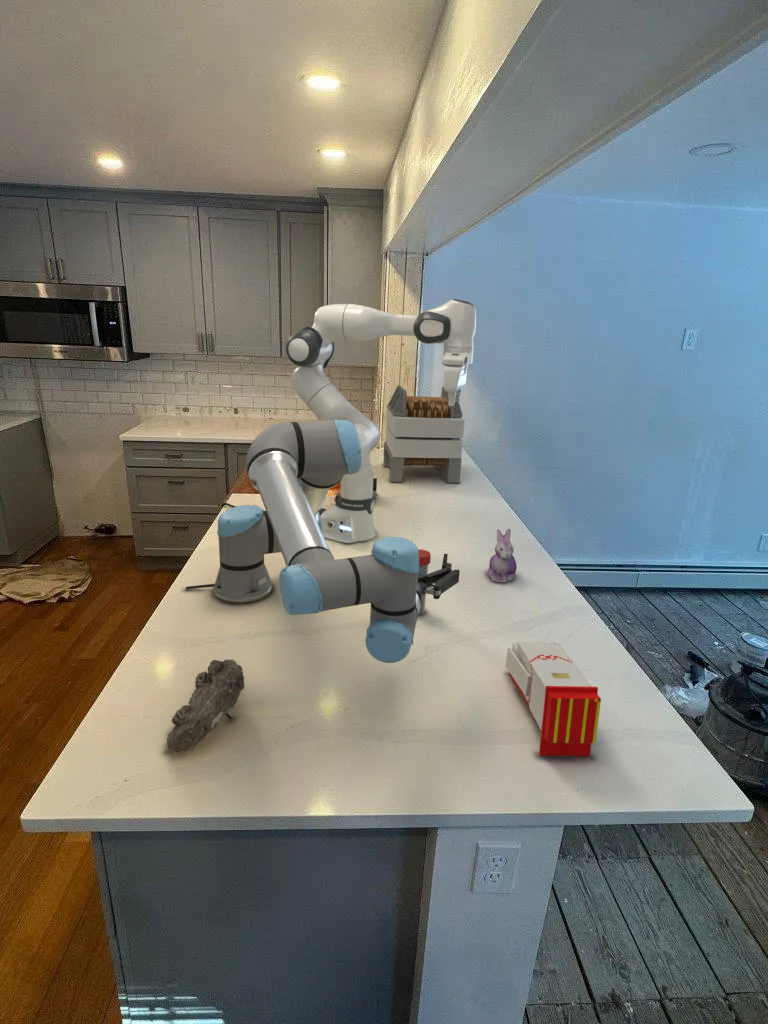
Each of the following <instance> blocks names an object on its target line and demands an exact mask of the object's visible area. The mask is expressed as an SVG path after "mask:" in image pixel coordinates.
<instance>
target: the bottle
mask: <svg viewBox="0 0 768 1024" xmlns="http://www.w3.org/2000/svg"><path fill="white" fill-rule="evenodd" d="M420 574H425V575H426V574H429V564H428V565H426V566H419V574H418V575H420ZM426 600H427V594H426V595H424V596H423V598H422V602H421V606H420V610H419V614H418V617H419V616H423V615H424V614H425V612H426Z"/></svg>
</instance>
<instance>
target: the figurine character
mask: <svg viewBox="0 0 768 1024" xmlns="http://www.w3.org/2000/svg"><path fill="white" fill-rule="evenodd" d="M377 484H378V478H377V477H373V496H374V500H376V498H377V496H378V493H377V487H378V485H377Z"/></svg>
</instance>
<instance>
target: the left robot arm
mask: <svg viewBox="0 0 768 1024" xmlns="http://www.w3.org/2000/svg"><path fill="white" fill-rule="evenodd" d="M360 467H361V446H360V440H359V436H358V433H357V430H356V428H355V426H354V424H353V423H352V422H350V421H348V420H337V419H335V420H324V421H320V420H311V421H310V420H308V421H282V422H277V423H273V424H271V425H269V426H268V427H266V428H265V429H263V430H262V431H261V432H260V433H258V435H256V437H255V438H254V439H253V441H252V442H251V444H250V446H249V448H248V451H247V454H246V459H245V471H246V472H245V473H246V475H247V477H248V480H249V483H250V485H251V486H252V487H253V489H254V490H256V491H258V493H259V495H260V497H261V501H262V504H263V507H264V509H265V510H264V509H263V508H262V507H261V506H260V505H255V504H252V505H251V504H243V505H237V507H233V508H232V507H230V508H229V509H226V510H225V511H223V512H222V513H221V514H220V515H219V517H218V519H217V531H216V533H217V538H218V552H219V553H218V555H219V569H218V572H217V575H216V578H215V583H208V584H199V585H198V584H197V585H189V586H186V587H185V590H196V589H203V588H205V589H206V588H214V589H213V591H214V596H215V597H216V598H217V599H219V600H221V601H223V602H225V603H231V604H248V603H249V604H250V603H254V602H257V601H260V600H263V599H264V598H266V597H268V596H269V594H271V592H272V590H273V587H272V586H273V584H272V579H271V577H270V574H269V572H268V570H267V569H268V568H267V567H266V564H265V555H270V554H276V553H277V554H278V553H281V556H282V558H283V561H284V564H285V566H284V567H283V568H282V569H281V570H280V572H279V575H278V576H279V577H278V589H279V594H280V598H281V604H282V607H283V608H284V610H285V612H286V613H288V614H289V615H292V616H300V615H301V616H302V615H310V614H312V615H313V614H314V615H315V614H319V613H320V612H326V611H332V610H338V609H343V608H347V607H348V608H349V607H353V606H361V605H366V604H370V618H369V625H368V627H367V629H366V634H365V639H364V640H365V641H364V642H365V646H366V647H365V648H366V650H367V652H368V653H369V655H371V657H373V659H375V660H376V661H378V662H381V663H385V664H396V663H399V662H401V661H403V660H404V659H405V658H407V656H408V655H409V653H410V651H411V648H412V646H413V645H414V635H415V631H416V627H417V623H418V619H419V618H418V617H419V616H418V614H419V610H420V606H421V602H422V598H423V596H424V595H426V596H427V595H431V596H432V597H433V599H434V600H439V599H440V598H441V596H442V595H443V594H444V593H446V592H447V591H448V590H450V589H451V588H452V587H454V586H455V585H457V584H458V583H459V581H460V570H459V569H452V566H453V564H452V563H451V562H448V553H443V556H442V557H443V558H442V564H441V568H440V569H438V570H435V571H432V572H428V574H426V575H425V574H420V575H418V574H419V550H418V549H419V547H418V546H417V544H416V543H415V542H413V541H412V540H410V539H408V538H405V537H403V536H402V537H400V536H385V537H381V538H379V539H377V540H375V541H374V542H373V544H372V549H371V550H370V551H371V552H370V554H368V555H359V556H353V557H345V558H338V559H335V557H334V555H333V553H332V550H331V549H330V547H329V545H328V542H327V541H326V540H327V539H326V538H324V536H323V533H322V520H321V516H320V514H319V512H318V511H319V510H320V509H321V508H322V505H323V503H324V501H325V499H326V497H327V494H328V493H329V490H330V489H331V488H334V487H336V486H337V485H338V484H339V483H341V479H342V478H343V476H344V475H345V474H350V475H352V474H355V473H357V472H359V470H360ZM263 510H264V511H263Z"/></svg>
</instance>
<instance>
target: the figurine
mask: <svg viewBox="0 0 768 1024" xmlns="http://www.w3.org/2000/svg"><path fill="white" fill-rule="evenodd" d="M495 532H496V544H495V547H494V553H495V554H493V555H492V556H491V557H490V559H489V564H488V565H489V566H488V567H489V568H488V577H490V578H491V580H492V581H493V582H496V583H497V582H498V583H506V582H510V581H512V580H513V579H514V578H515V575H516V571H517V568H518V567H517V561H516V559H515V557H514V555H513V553H514V549H515V548H514V547H513V544H512V542H511V536H512V535H511V534H512V529H511V528H508V529H506V531H505V533H504V535H503V533H502V532H501V530H500V529H496V531H495Z"/></svg>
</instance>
